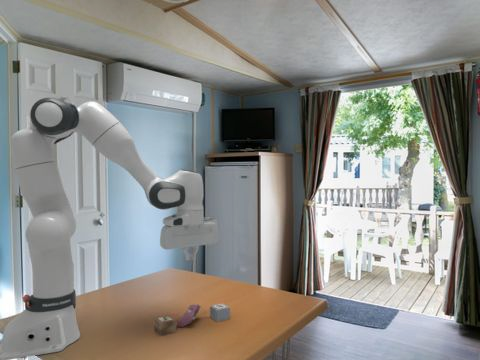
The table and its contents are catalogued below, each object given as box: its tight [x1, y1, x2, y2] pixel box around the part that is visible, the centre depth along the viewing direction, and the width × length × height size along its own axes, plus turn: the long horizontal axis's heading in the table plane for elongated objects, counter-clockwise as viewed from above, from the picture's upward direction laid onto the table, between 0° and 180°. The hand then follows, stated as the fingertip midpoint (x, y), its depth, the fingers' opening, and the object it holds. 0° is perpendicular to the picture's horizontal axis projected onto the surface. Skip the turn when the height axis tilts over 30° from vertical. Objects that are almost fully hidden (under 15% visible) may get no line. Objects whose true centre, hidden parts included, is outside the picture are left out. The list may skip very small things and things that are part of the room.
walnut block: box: [154, 315, 177, 337], centre depth 117 cm, size 5×5×4 cm
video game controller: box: [176, 303, 201, 328], centre depth 124 cm, size 10×5×7 cm, turn 169°
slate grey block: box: [209, 302, 231, 323], centre depth 128 cm, size 5×5×4 cm
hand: (190, 259), depth 124 cm, fingers closed
